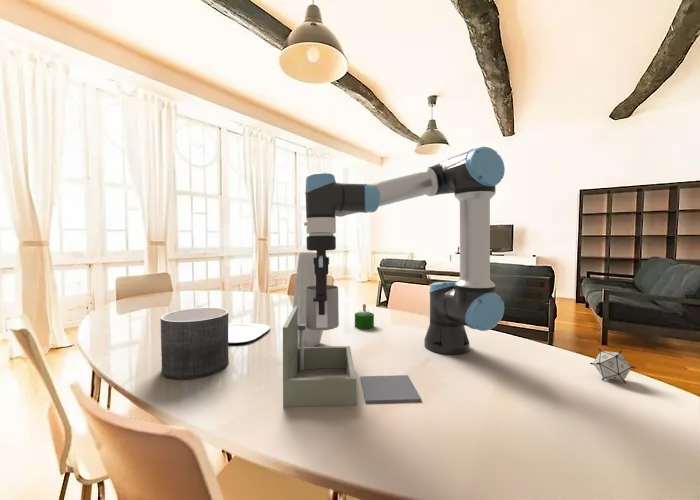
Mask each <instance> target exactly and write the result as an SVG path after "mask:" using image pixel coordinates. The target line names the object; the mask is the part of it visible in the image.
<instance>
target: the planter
mask: <svg viewBox="0 0 700 500" xmlns="http://www.w3.org/2000/svg"><path fill="white" fill-rule="evenodd" d="M228 323H229V310H228V309H226V308H220V307H196V308H195V307H194V308H186V309H179V310H175V311H171V312H167V313H165V314H163V315H161V316H160V349H161V351H160V352H161V374H162V376H163V377H165V378H167V379H171V380H193V379H199V378H203V377H204V378H205V377H208V376H211V375H213V374H216V373H219V372H220V371H222V370H224V369H225V368H226V367H227V366H228V365H229V363H230V362H229V344H228Z"/></svg>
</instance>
